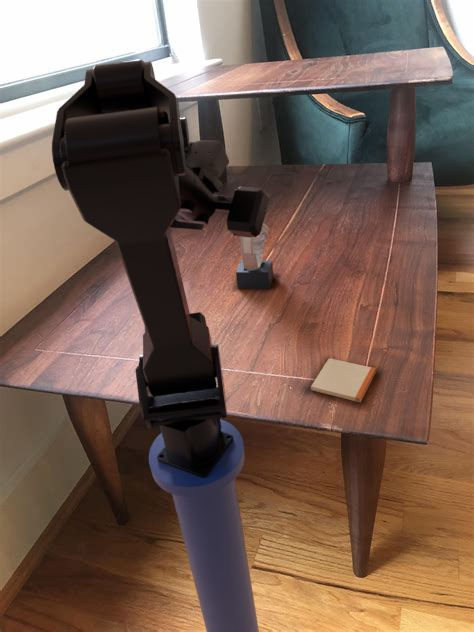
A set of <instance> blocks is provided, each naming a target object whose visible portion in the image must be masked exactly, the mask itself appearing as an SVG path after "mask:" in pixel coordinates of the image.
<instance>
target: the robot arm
mask: <svg viewBox="0 0 474 632" xmlns="http://www.w3.org/2000/svg"><path fill="white" fill-rule="evenodd" d="M180 111H181V110H180V103H179V100H178V98H177V96H176V94H175V93H174V92H173V91H172V90H170V89H169V88H167V87H166V86H165V85H163V84H162V83H161V82H159V81H158V80H157V79H156V75H155V71H154V66H153V63H152V61H146V62H145V61H144V60H143V59H142V58H140V59H139V58H138V59H132V60H123V61H117V62H115V61H114V62H107V63H101V64H95V65H94V66H93V68H90V69H86V71H85V75H84V84H83V86H81V87H80V88H79V89H78V90H77V91H76V92H75V93H74V94H73V95H72V96H71V97H70V98H68V99H67V100H66V101H65V102H64V103H63V104H62V105H61V106H60V107H59V108H58V109H57V111H56V116H55V122H54V127H53V134H52V140H51V155H52V163H53V167H54V172H55V174H56V175H55V176H56V178H57V180H58V183H59V184H60V187H61V188H62V189H63V190H64V191H68V192H69V194H70V196H71V198H72V200H73V203H74V204H75V206H76V208H77V210H78V212H79V214H80V216H81V219H82V220H83V221H84V222H85V223H86V224H88V225H89V226H91V227H93V228H94V229H96V230H98V231H99V232H101V233H102V234H104V235H106V236H107V237H108V238H110V239H112V240H113V241H114V242H115V245H116V247H117V250H118V253H119V256H120V259H121V262H122V265H123V267H124V271H125V273H126V276H127V279H128V282H129V285H130V288H131V291H132V293H133V296H134V297H133V298H134V300H135V302H136V305H137V308H138V310H139V313H140V316H141V320H142V323H143V325H144V333H143V334H142V354H141V353H140V354H139V358H138V365H137V366H136V368H135V378H136V387H137V397H138V403H139V409H140V412H141V416H142V418H143V423H144V424H145V425H146V428H147V429H153V428H154V427H159V428H160V434H161V433H162V437H163V441H164V445H165V447H164V449H163V450H162V451H161V452H160V453H159V455H158V456H157V459H158V461H159V462H161V463H163V464H166V465H169V466H171V467H174V468H177V469H179V470H182V471H185V472H187V473H190V474H193V475H196V476H198V477H201V478H205V477H207V476H208V475H209V473H210V472H211V471H212V469H213V468H214V466H215V465H216V464H217V462H218V461H219V460H220V458H221V457H222V455H223V454H224V453H225V451H226V450H227V448H228V447H229V446H230V444H231V443H232V442H233V436H232V435H231V434H228V433H225V432H222V431H221V428H222V427H221V421H220V419H221V418H222V419H226V418H228V410H227V400H226V399H227V398H226V389H225V381H224V376H223V375H224V374H223V368H222V360H221V353H220V347H219V344H218V343H215V344H213V342H212V337H211V333H210V327H209V326H208V325H207V320H206V316H205V314H203V313H202V312H201V311H198V312H191V313H190V308H189V304H188V299H187V295H186V291H185V286H184V282H183V278H182V273H181V270H180V264H179V260H178V256H177V252H176V248H175V243H174V239H173V235H172V231H171V229H182V230H183V229H186V230H197V231H201V230H203V229H204V226H207V225H209V221H210V219H211V217H213V215H214V214H221V215H227V218H226V227H227V230H228V231H229V232H230V233H231V234H232V235H233V236H235V237H241V236H242V237H257V236H258V235H259V234H260V233H261V229H262V225H263V223H265V222H264V221H265V219H266V218H265V217H266V214H267V211H268V208H269V202H270V200H271V199H270V196H269V195H268V193H267V192H266V191H265V190H264V189H263V188H261V187H251V186H250V187H249V186H239V187H237V188H236V189H235V190H234V193H233V196H232V195H221V194H219V195H218V193H221V190H222V187H223V183H222V182H221V181H220V178H221V176H222V175H223V172H224V171H225V169H226V167H228V166H229V164H230V159H229V156H228V154H227V152H226V149H225V146H224V144H223V142H222V141H220V140H204V139H203V140H201V139H200V140H196V141H190V135H189V134H190V133H189V126H188V125H189V124H188V119H187V118H186V117H181V112H180ZM228 438H230V439H228ZM162 457H163V458H162ZM204 472H205V473H204Z"/></svg>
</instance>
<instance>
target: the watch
mask: <svg viewBox="0 0 474 632" xmlns="http://www.w3.org/2000/svg"><path fill="white" fill-rule="evenodd" d="M269 230H270V229H269V226H268V225H267V224H266V223H265V222H263V225H262V229H261V233H260V234H259V235H258V236H257V237H242V236H240V252H241V254H240V258H241V260H240V262H239V264H238V267H237V269H236V271H235V275H236V276H235V277H236V285H237V286H236V287H237V289H238V290H239V289H241V290H242V289H245V290H247V289H248V290H250V289H253V290H254V289H255V290H256V289H258V290H264V289H265V290H270V289H271V286H272V283H273V279H274V277H275V275H274V266H273V260H263V257H264V246H265V245H266V242H267V238H268V236H269V232H270V231H269Z"/></svg>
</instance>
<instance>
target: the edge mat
mask: <svg viewBox="0 0 474 632" xmlns="http://www.w3.org/2000/svg"><path fill="white" fill-rule="evenodd" d="M376 373H377V368H376V367H373V366H367V365H362V364H358V363H354V362H348V361H345V360H340V359H335V358H331V357H329V358H328V359H327V361H326V362H325V363H324V366H323V367H322V368H321V370H320V372H319V373H318V375H317V376H316V378H315V379H314V381H313V383H312V384H311V386H310V390H311V391H314V392H317V393H322V394H324V395H329V396H333V397H337V398H341V399H344V400H348V401H349V400H350V401H352V402H357V403H361V402H362V400H363V398H364V397H365V395H366V393H367V391H368V389H369V387H370V385H371V383H372V381H373V379H374V377H375V375H376Z"/></svg>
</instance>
